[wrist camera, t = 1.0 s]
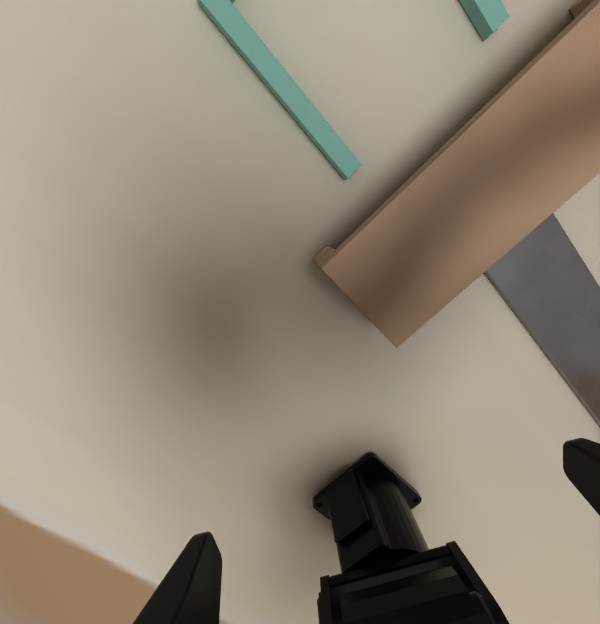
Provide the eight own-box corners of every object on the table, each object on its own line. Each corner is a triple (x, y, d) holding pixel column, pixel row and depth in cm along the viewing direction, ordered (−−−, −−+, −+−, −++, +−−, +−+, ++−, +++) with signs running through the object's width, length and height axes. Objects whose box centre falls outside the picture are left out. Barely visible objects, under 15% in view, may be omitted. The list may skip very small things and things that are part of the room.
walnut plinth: (636, 88, 18) (742, 49, 14) (373, 323, 21) (396, 347, 17) (588, -10, 16) (692, -87, 12) (312, 258, 19) (321, 268, 15)
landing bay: (498, 25, 16) (509, 16, 15) (344, 179, 18) (347, 178, 17) (366, -203, 13) (372, -228, 13) (199, 5, 15) (195, -7, 14)
